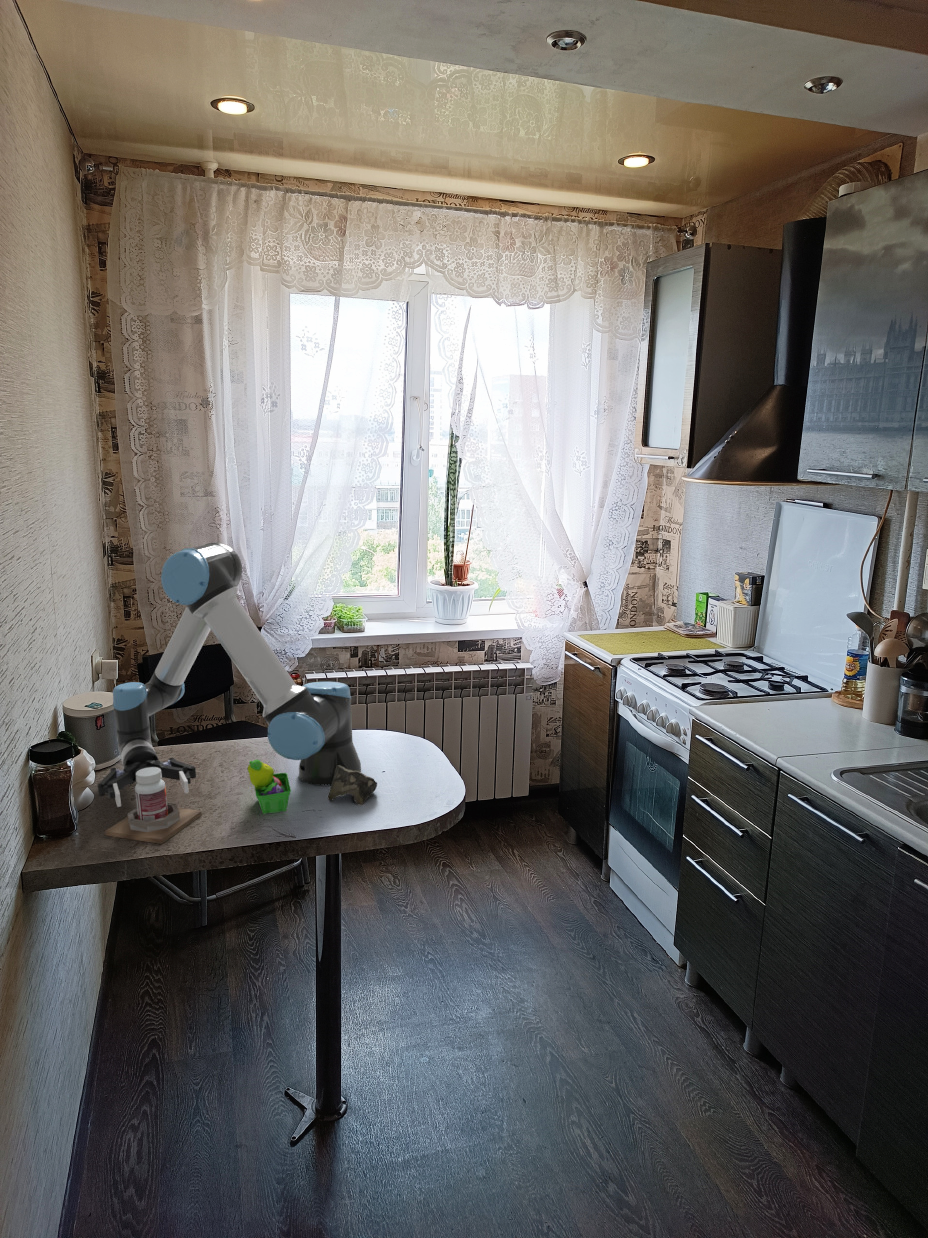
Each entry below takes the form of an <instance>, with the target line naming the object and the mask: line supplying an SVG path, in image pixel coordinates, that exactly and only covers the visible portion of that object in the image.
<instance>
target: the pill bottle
mask: <svg viewBox="0 0 928 1238" xmlns="http://www.w3.org/2000/svg"><path fill="white" fill-rule="evenodd" d="M161 778H162V773H161V769H160V768H157V767H149V768H144V769H141V770H139V771H137V772H136V782H135V783H136V785H135V787H134V794H135V801H136V802H135V803H136V808H137V812H138V820H144V821H151V820H155V819H160V818H165V817H166V816H168V804H167V803H168V797H167V796H168V795H167V787H166V782H165V781H164V780H163V778H162V779H161Z"/></svg>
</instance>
